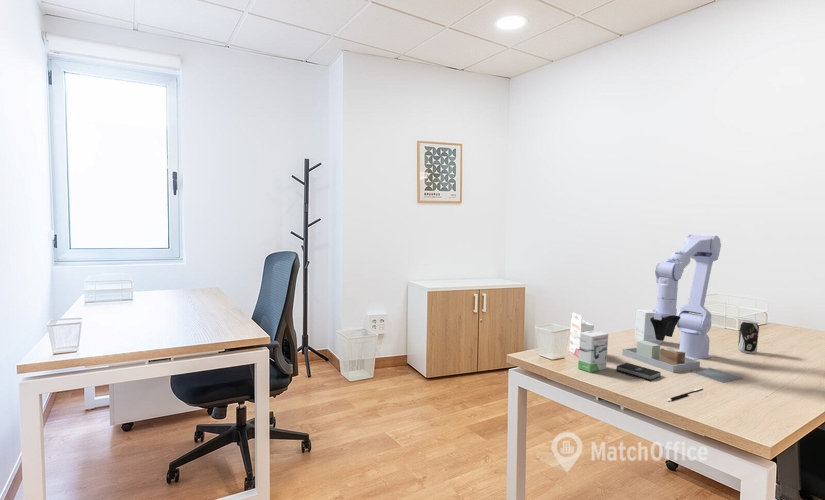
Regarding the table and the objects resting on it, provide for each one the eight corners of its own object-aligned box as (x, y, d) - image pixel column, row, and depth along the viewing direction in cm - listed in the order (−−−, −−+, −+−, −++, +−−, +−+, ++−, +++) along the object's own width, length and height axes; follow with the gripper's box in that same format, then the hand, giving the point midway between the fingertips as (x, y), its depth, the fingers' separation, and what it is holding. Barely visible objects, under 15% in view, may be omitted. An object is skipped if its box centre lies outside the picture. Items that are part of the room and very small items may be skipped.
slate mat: (710, 369, 146) (710, 367, 146) (743, 379, 137) (743, 378, 137) (690, 372, 142) (690, 371, 142) (723, 383, 133) (723, 382, 133)
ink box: (590, 373, 139) (592, 336, 138) (577, 368, 143) (579, 332, 142) (606, 368, 143) (609, 333, 143) (593, 364, 148) (595, 329, 147)
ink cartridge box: (592, 358, 154) (595, 316, 153) (579, 358, 154) (581, 316, 153) (581, 350, 163) (583, 311, 162) (568, 350, 162) (570, 311, 161)
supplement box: (661, 344, 175) (664, 313, 174) (642, 344, 175) (645, 312, 174) (651, 339, 182) (654, 309, 181) (633, 339, 182) (635, 308, 181)
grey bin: (647, 352, 163) (648, 345, 163) (699, 369, 146) (700, 361, 146) (622, 355, 158) (622, 349, 158) (672, 373, 140) (673, 366, 140)
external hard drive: (650, 383, 133) (651, 376, 132) (615, 372, 141) (615, 366, 141) (661, 378, 137) (661, 372, 137) (625, 368, 146) (626, 362, 145)
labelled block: (667, 361, 151) (668, 346, 151) (684, 367, 146) (685, 352, 145) (659, 363, 150) (660, 348, 149) (676, 368, 144) (677, 353, 144)
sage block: (644, 354, 159) (645, 340, 159) (659, 359, 154) (660, 345, 154) (636, 355, 158) (637, 341, 157) (651, 360, 152) (652, 346, 152)
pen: (705, 391, 127) (706, 387, 127) (667, 403, 118) (668, 399, 118) (702, 390, 128) (702, 386, 128) (664, 402, 118) (664, 398, 118)
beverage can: (740, 353, 166) (743, 321, 165) (735, 349, 171) (738, 318, 170) (759, 355, 164) (761, 323, 163) (753, 351, 169) (756, 320, 168)
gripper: (661, 294, 154) (659, 332, 155) (645, 298, 145) (642, 339, 146) (684, 297, 149) (681, 336, 150) (669, 301, 139) (666, 344, 140)
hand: (664, 338), depth 147 cm, fingers open, 7 cm apart
